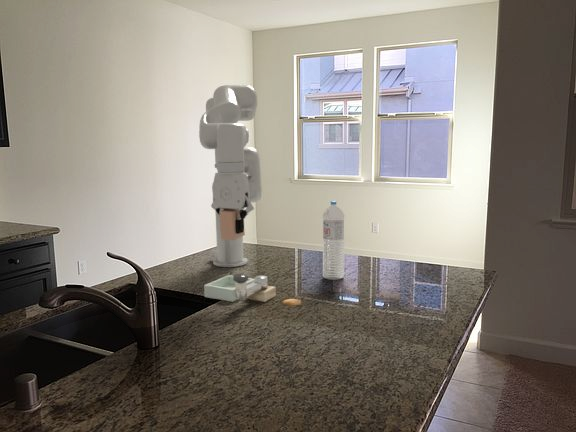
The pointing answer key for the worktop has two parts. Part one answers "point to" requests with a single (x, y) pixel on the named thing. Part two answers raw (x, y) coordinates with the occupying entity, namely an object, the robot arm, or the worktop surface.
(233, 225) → the block
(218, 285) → the tray
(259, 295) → the crank base
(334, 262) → the water bottle
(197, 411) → the worktop surface
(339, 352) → the worktop surface
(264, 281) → the crank
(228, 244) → the robot arm
